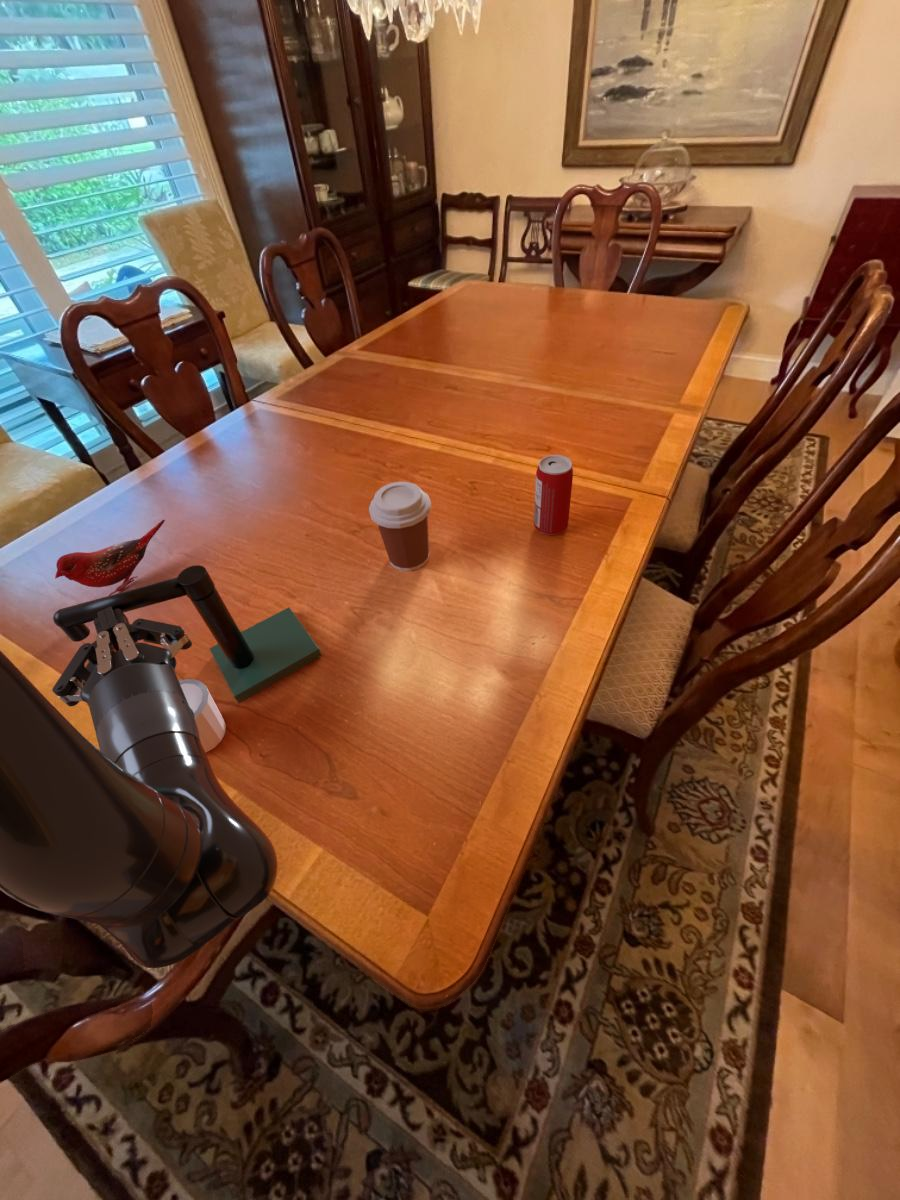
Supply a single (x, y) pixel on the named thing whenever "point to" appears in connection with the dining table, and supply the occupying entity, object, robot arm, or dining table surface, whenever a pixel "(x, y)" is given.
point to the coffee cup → (403, 523)
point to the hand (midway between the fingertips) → (108, 614)
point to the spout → (134, 600)
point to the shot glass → (204, 713)
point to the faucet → (255, 647)
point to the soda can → (553, 494)
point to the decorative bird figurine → (106, 563)
